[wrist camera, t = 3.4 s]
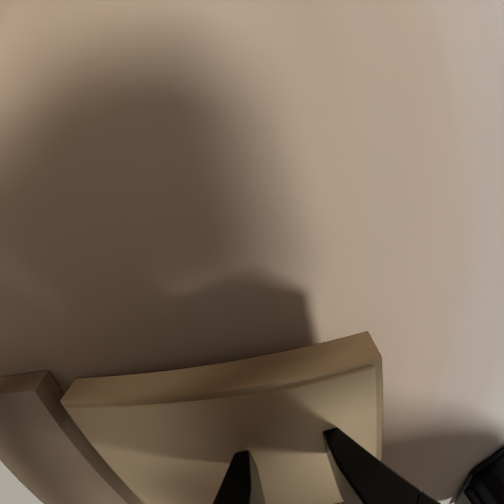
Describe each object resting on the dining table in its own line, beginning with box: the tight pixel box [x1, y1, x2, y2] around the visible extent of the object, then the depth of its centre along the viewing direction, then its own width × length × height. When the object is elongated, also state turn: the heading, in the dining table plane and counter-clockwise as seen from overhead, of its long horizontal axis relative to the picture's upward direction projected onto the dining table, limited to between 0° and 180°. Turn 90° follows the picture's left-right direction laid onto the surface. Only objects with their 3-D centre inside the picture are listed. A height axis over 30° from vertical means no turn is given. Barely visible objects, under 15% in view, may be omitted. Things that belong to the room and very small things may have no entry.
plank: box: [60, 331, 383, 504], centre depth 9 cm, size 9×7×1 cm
